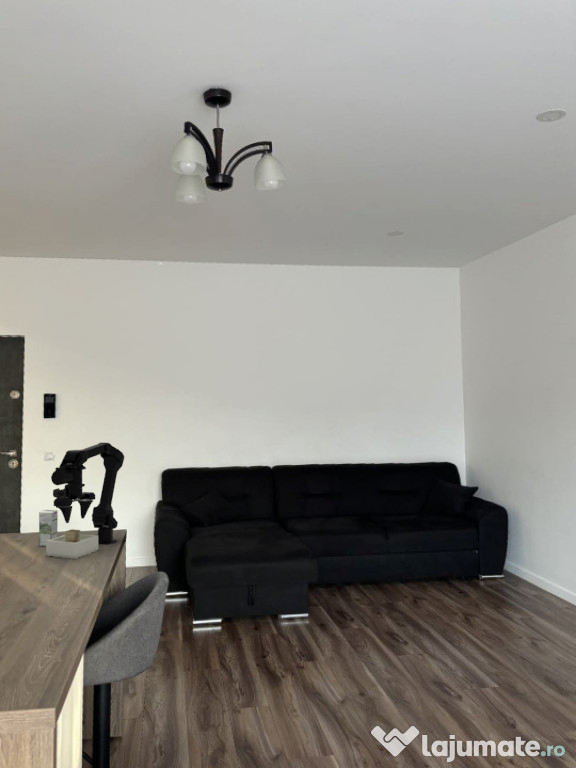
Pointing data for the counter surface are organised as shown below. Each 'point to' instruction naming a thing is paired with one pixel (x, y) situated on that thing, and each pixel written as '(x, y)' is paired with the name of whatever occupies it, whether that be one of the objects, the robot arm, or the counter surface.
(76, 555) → the open box
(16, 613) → the counter surface
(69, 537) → the maple peg
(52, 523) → the syrup box
